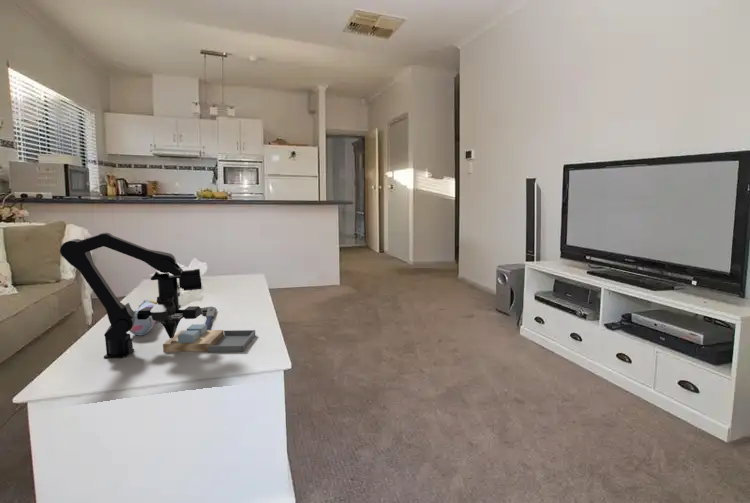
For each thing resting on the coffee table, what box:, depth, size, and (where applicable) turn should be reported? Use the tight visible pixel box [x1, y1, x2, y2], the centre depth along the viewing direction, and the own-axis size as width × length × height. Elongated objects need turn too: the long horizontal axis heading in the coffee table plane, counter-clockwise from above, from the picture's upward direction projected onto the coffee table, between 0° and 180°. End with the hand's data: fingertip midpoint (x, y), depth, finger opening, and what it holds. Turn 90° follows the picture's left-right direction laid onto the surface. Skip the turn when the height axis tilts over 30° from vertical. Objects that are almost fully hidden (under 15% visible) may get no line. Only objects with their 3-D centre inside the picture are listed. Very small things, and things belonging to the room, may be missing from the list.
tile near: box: [178, 331, 199, 343], centre depth 144 cm, size 5×5×2 cm
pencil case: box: [128, 298, 157, 336], centre depth 164 cm, size 21×9×10 cm, turn 17°
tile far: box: [186, 323, 207, 336], centre depth 151 cm, size 5×5×2 cm
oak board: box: [162, 329, 225, 353], centre depth 148 cm, size 15×14×2 cm
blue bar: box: [200, 306, 218, 330], centre depth 174 cm, size 34×2×12 cm
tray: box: [207, 329, 256, 353], centre depth 148 cm, size 11×16×2 cm
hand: (171, 337), depth 144 cm, fingers closed
